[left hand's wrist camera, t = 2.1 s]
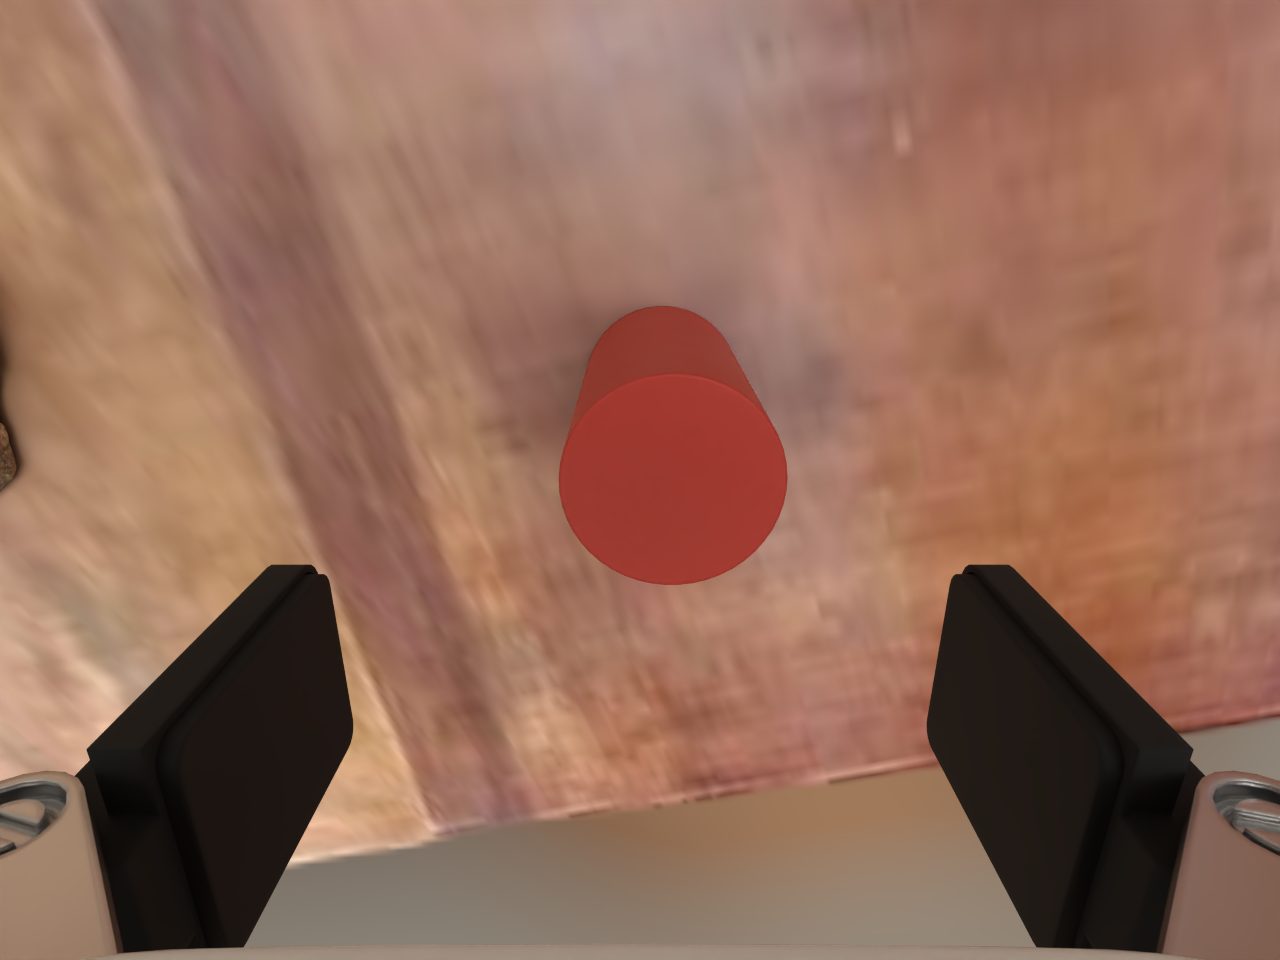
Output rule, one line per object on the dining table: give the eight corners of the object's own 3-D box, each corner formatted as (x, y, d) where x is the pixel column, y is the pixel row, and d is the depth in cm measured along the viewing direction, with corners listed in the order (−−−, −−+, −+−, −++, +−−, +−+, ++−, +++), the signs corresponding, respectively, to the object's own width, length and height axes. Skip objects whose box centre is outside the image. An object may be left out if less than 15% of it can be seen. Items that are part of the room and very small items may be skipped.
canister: (669, 272, 26) (686, 322, 17) (767, 388, 28) (833, 494, 18) (555, 375, 27) (510, 476, 18) (654, 480, 29) (661, 624, 19)
